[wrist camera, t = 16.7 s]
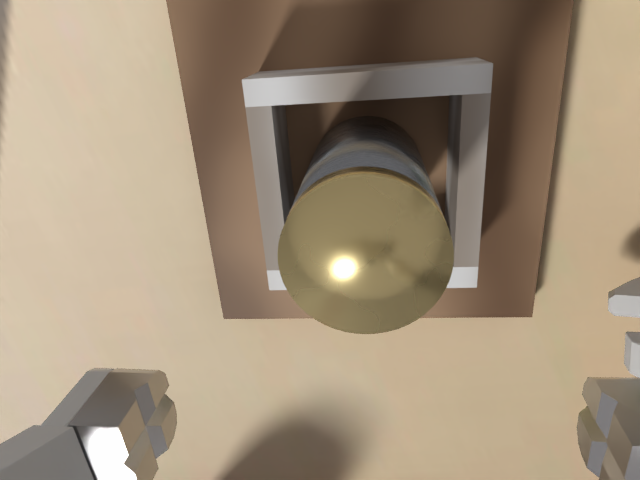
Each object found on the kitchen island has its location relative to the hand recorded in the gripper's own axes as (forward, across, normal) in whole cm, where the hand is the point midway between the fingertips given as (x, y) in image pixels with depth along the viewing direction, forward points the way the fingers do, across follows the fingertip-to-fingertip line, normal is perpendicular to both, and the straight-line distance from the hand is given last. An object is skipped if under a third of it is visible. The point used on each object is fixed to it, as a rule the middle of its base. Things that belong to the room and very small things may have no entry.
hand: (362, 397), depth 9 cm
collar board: (+15, 0, 0) cm, 15 cm away
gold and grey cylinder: (+14, 0, 0) cm, 14 cm away
